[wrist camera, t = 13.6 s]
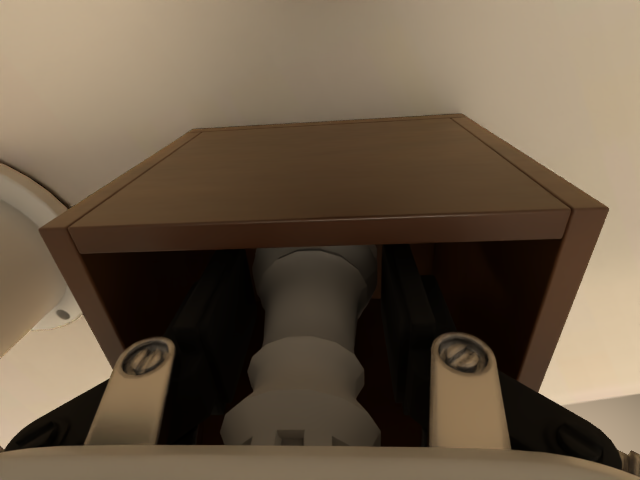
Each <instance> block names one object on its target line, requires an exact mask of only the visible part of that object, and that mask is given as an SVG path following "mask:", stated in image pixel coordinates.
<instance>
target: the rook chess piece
mask: <svg viewBox="0 0 640 480" xmlns="http://www.w3.org/2000/svg"><path fill="white" fill-rule="evenodd" d="M252 272H253V278H254V283H255V287H256V292H257V295H258V296H259V298H260V299H261V304H262V307H263V308H264V310H265V323H264V340H263V345H262V348H261V349H260V350H259V351H258V352H257V353H256V354H255V355H254V356H252V359H251V362H250V365H249V368H248V371H247V373H248V376H249V380H250V384H251V387H252V388H253V393H251V394H250V395H249V396H247V397H246V398H245V399H244V400H242V401H241V402H240V403H239V404H237V405H236V406H235V407H234V408H232V409H231V410H230V411H229V412H228V413H226V414H225V417H224V420H223V424H222V427H221V430H220V434H221V437H222V439H223V442H224V445H259V446H366V447H381V431H380V429H379V428H378V426H377V425H376V423H375V422H374V421H373V419H372V418H371V416H370V415H369V413H368V412H367V411H366V410H365V409H364V408H363V407H362V406H361V405H360V404H359V403H358V402H357V400H356V398H357V396H358V395H359V393H360V391H361V390H362V388H363V386H364V368H363V367H362V365H361V364H360V362H359V361H358V359H357V358H356V356H355V355H354V347H355V338H356V329H357V321H358V319H359V318H360V316H361V314H362V312H363V310H364V309H365V308H366V307H367V305H368V303H369V301H370V299H371V297H372V295H373V293H374V291H375V289H376V286H377V248H376V246H375V245H351V246H319V247H286V248H257V249H256V253H255V259H254V263H253V266H252Z"/></svg>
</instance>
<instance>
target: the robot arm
mask: <svg viewBox="0 0 640 480" xmlns="http://www.w3.org/2000/svg"><path fill="white" fill-rule="evenodd" d="M67 210H68V209H67V208H66V207H65V206H64V205H63V204H62V203H61V202H60V201H59V200H58V199H56V198H55V197H54V196H53V195H52V194H51V193H50V192H49V191H47V190H46V189H44V188H43V187H42V186H40V185H39V184H37V183H36V182H35V181H33V180H32V179H30V178H29V177H27V176H25V175H23V174H21V173H20V172H18V171H16V170H14V169H12V168H10V167H8V166H7V165H4V164H1V163H0V359H1V358H2V357H3V356H4V355H5V354H6V353H7V352H8V351H9V350H10V349H11V348H12V347H13V346H14V345H15V344H16V343H17V342H18V341H19V340H21V339H22V338H23V337H24V336H25V335H26V334H27V333H28V332H29V331H30V330H32V331H39V330H50V329H55V328H58V327H62V326H65V325H67V324H69V323H71V322H73V321H74V320H76V319H77V318H78V317H80V316H81V315H82V314H83V313H82V311H81V309H80V308H79V306H78V304H77V302H76V300H75V298H74V296H73V295H72V293H71V291H70V289H69V287H68V285H67V283H66V282H65V280H64V278H63V276H62V274H61V272H60V270H59V269H58V267H57V265H56V263H55V261H54V259H53V257H52V256H51V254H50V252H49V250H48V248H47V246H46V244H45V243H44V241H43V239H42V237H41V235H40V233H39V231H38V229H39V228H40V227H42V226H43V225H45V224H47V223H48V222H50V221H51V220H53V219H54V218H56V217H57V216H59V215H61V214H62V213H64V212H65V211H67ZM381 317H382V323H383V330H384V336H385V343H386V349H387V356H388V362H389V368H390V375H391V381H392V388H393V394H394V400H395V403H402V407H403V413H404V415H410V417H411V418H412V419H414V420H415V421H416V422H418V423H419V424H420V425H421V433H420V447H366V446H259V445H202V439H203V429H204V422H203V421H204V420H205V419H207V418H208V417H209V416H210V415H223V414H224V410H225V407H226V404H227V403H231V402H232V401H233V398H234V395H235V391H236V388H237V384H238V381H239V377H240V374H241V370H242V367H243V363H244V360H245V356H246V353H247V349H248V346H249V342H250V339H251V335H252V332H253V328H254V325H255V321H256V318H257V305H256V300H255V295H254V290H253V286H252V281H251V276H250V271H249V266H248V261H247V256H246V251H245V249H222V250H216V251H215V253H214V254H213V256H212V258H211V260H210V262H209V263H208V265H207V267H206V269H205V270H204V272H203V274H202V276H201V277H200V279H199V281H197V282H194V284H193V285H192V287H191V288H190V290H189V292H188V293H187V295H186V297H185V299H184V300H183V302H182V304H181V305H180V307H179V309H178V311H177V312H176V314H175V316H174V317H173V319H172V321H171V323H170V324H169V326H168V328H167V330H166V331H165V333H164V335H163V336H154V337H149V338H145V339H142V340H140V341H138V342H136V343H134V344H133V345H131V346H130V347H128V348H127V349H126V350H125V351H124V352H123V353H122V354H121V355H120V356H119V358H118V360H117V362H116V364H115V366H114V369H113V371H112V374H111V376H110V379H108V380H106V381H104V382H103V383H101V384H99V385H97V386H95V387H94V388H92V389H90V390H88V391H87V392H85V393H83V394H81V395H79V396H78V397H76V398H74V399H72V400H71V401H69V402H67V403H65V404H63V405H62V406H60V407H58V408H56V409H55V410H53V411H51V412H49V413H47V414H46V415H44V416H42V417H40V418H39V419H37V420H35V421H34V422H32V423H31V424H29V425H28V426H26V427H25V428H23V429H22V430H21V431H20V432H19V433H18V434H17V435H16V436H14V438H13V439H12V440H11V441H10V443H9V444H8V445H7V446H6V448H5V449H3V448H2V447H1V446H0V480H640V455H639V454H638V453H636V452H634V451H630V453H629V454H628V455H627V454H625V453H623V452H621V451H619V450H617V449H616V447H615V446H614V444H613V443H612V441H611V440H610V439H609V438H608V437H607V436H606V435H605V434H604V433H603V432H602V431H601V430H600V429H598V428H597V427H596V426H594V425H593V424H591V423H590V422H588V421H587V420H585V419H583V418H581V417H580V416H578V415H576V414H574V413H573V412H571V411H569V410H567V409H566V408H564V407H562V406H560V405H559V404H557V403H555V402H553V401H552V400H550V399H548V398H546V397H545V396H543V395H541V394H539V393H538V392H536V391H534V390H532V389H531V388H529V387H527V386H525V385H524V384H522V383H520V382H518V381H517V380H515V379H513V378H511V377H510V376H508V375H506V374H504V373H503V372H501V371H499V370H497V364H496V359H495V356H494V353H493V351H492V350H491V349H490V347H489V346H488V345H487V344H486V343H485V342H483V341H482V340H481V339H479V338H477V337H475V336H473V335H471V334H467V333H463V332H457V329H456V327H455V324H454V322H453V319H452V317H451V314H450V312H449V309H448V307H447V304H446V302H445V299H444V297H443V295H442V292H441V290H440V287H439V285H438V282H437V280H436V278H435V276H434V275H420V274H419V271H418V268H417V266H416V263H415V260H414V257H413V254H412V251H411V248H410V245H409V244H383V245H382V273H381Z"/></svg>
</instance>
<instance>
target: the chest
mask: <svg viewBox="0 0 640 480" xmlns="http://www.w3.org/2000/svg"><path fill="white" fill-rule="evenodd" d="M608 211H609V208H608V207H607V206H605V205H604V204H602V203H601V202H599V201H597V200H596V199H594V198H593V197H591V196H590V195H588V194H587V193H585V192H583V191H582V190H580V189H579V188H577V187H576V186H574V185H573V184H571V183H569V182H568V181H566V180H565V179H563V178H562V177H560V176H558V175H557V174H555V173H554V172H552V171H551V170H549V169H548V168H546V167H544V166H543V165H541V164H540V163H538V162H537V161H535V160H533V159H532V158H530V157H529V156H527V155H526V154H524V153H523V152H521V151H519V150H518V149H516V148H515V147H513V146H512V145H510V144H509V143H507V142H505V141H504V140H502V139H501V138H499V137H498V136H496V135H494V134H493V133H491V132H490V131H488V130H487V129H485V128H484V127H482V126H480V125H479V124H477V123H476V122H474V121H473V120H471V119H469V118H468V117H466V116H465V115H463V114H447V115H430V116H412V117H395V118H378V119H360V120H343V121H325V122H308V123H290V124H273V125H256V126H238V127H221V128H203V129H192V130H191V131H189V132H188V133H186V134H185V135H183V136H182V137H180V138H178V139H177V140H175V141H174V142H172V143H171V144H169V145H168V146H166V147H165V148H163V149H161V150H160V151H158V152H157V153H155V154H154V155H152V156H151V157H149V158H147V159H146V160H144V161H143V162H141V163H140V164H138V165H137V166H135V167H133V168H132V169H130V170H129V171H127V172H126V173H124V174H123V175H121V176H119V177H118V178H116V179H115V180H113V181H112V182H110V183H109V184H107V185H106V186H104V187H102V188H101V189H99V190H98V191H96V192H95V193H93V194H92V195H90V196H88V197H87V198H85V199H84V200H82V201H81V202H79V203H78V204H76V205H74V206H73V207H71V208H70V209H68V210H67V211H65V212H64V213H62V214H61V215H59V216H57V217H56V218H54V219H53V220H51V221H50V222H48V223H47V224H45V225H43V226H42V227H40V228H39V229H38V231H39V233H40V235H41V237H42V239H43V241H44V243H45V244H46V246H47V248H48V250H49V252H50V254H51V256H52V257H53V259H54V261H55V263H56V265H57V267H58V269H59V270H60V272H61V274H62V276H63V278H64V280H65V282H66V283H67V285H68V287H69V289H70V291H71V293H72V295H73V296H74V298H75V300H76V302H77V304H78V306H79V308H80V309H81V311H82V313H83V315H84V317H85V319H86V321H87V322H88V324H89V326H90V328H91V330H92V332H93V334H94V335H95V337H96V339H97V341H98V343H99V345H100V347H101V348H102V350H103V352H104V354H105V356H106V358H107V360H108V361H109V363H110V365H111V367H112V369H114V366H115V364H116V362H117V360H118V358H119V356H120V355H121V354H122V353H123V352H124V351H125V350H126V349H127V348H128V347H130V346H131V345H133V344H134V343H136V342H138V341H140V340H142V339H145V338H149V337H154V336H163V335H164V333H165V331H166V330H167V328H168V326H169V324H170V323H171V321H172V319H173V317H174V316H175V314H176V312H177V311H178V309H179V307H180V305H181V304H182V302H183V300H184V299H185V297H186V295H187V293H188V292H189V290H190V288H191V287H192V285H193V284H194V282H197V281H199V279H200V277H201V276H202V274H203V272H204V270H205V269H206V267H207V265H208V263H209V262H210V260H211V258H212V256H213V254H214V253H215V251H216V250H222V249H245V251H246V256H247V261H248V266H249V271H250V276H251V281H252V286H253V290H254V295H255V300H256V305H257V318H256V321H255V325H254V328H253V332H252V335H251V339H250V342H249V346H248V349H247V353H246V356H245V360H244V363H243V367H242V370H241V374H240V377H239V381H238V384H237V388H236V391H235V395H234V398H233V401H232V402H231V403H227V404H226V407H225V410H224V414H223V415H210V416H209V417H208V418H207V419H205V420H204V421H203V422H204V429H203V439H202V445H224V442H223V439H222V437H221V434H220V430H221V427H222V424H223V420H224V417H225V414H226V413H228V412H229V411H230V410H231V409H232V408H234V407H235V406H236V405H237V404H239V403H240V402H241V401H242V400H244V399H245V398H246V397H247V396H249V395H250V394H251V393H253V388H252V387H251V384H250V380H249V376H248V373H247V371H248V368H249V365H250V362H251V359H252V356H254V355H255V354H256V353H257V352H258V351H259V350H260V349H261V348H262V345H263V340H264V323H265V310H264V308H263V307H262V304H261V299H260V298H259V296H258V295H257V292H256V287H255V283H254V278H253V272H252V266H253V263H254V259H255V253H256V249H257V248H286V247H319V246H351V245H375V246H376V248H377V286H376V289H375V291H374V293H373V295H372V297H371V299H370V301H369V303H368V305H367V307H366V308H365V309H364V310H363V312H362V314H361V316H360V318H359V319H358V321H357V329H356V338H355V347H354V355H355V356H356V358H357V359H358V361H359V362H360V364H361V365H362V367H363V368H364V386H363V388H362V390H361V391H360V393H359V395H358V396H357V398H356V400H357V402H358V403H359V404H360V405H361V406H362V407H363V408H364V409H365V410H366V411H367V412H368V413H369V415H370V416H371V418H372V419H373V421H374V422H375V423H376V425H377V426H378V428H379V429H380V431H381V447H420V433H421V425H420V424H419V423H418V422H416V421H415V420H414V419H412V418H411V417H410V415H404V413H403V407H402V403H395V400H394V394H393V388H392V381H391V375H390V368H389V362H388V356H387V349H386V343H385V336H384V330H383V323H382V317H381V273H382V245H383V244H409V245H410V248H411V251H412V254H413V257H414V260H415V263H416V266H417V268H418V271H419V274H420V275H434V276H435V278H436V280H437V282H438V285H439V287H440V290H441V292H442V295H443V297H444V299H445V302H446V304H447V307H448V309H449V312H450V314H451V317H452V319H453V322H454V324H455V327H456V329H457V332H463V333H467V334H471V335H473V336H475V337H477V338H479V339H481V340H482V341H483V342H485V343H486V344H487V345H488V346H489V347H490V349H491V350H492V351H493V353H494V356H495V359H496V364H497V370H499V371H501V372H503V373H504V374H506V375H508V376H510V377H511V378H513V379H515V380H517V381H518V382H520V383H522V384H524V385H525V386H527V387H529V388H531V389H532V390H534V391H536V392H539V389H540V386H541V384H542V381H543V379H544V376H545V373H546V371H547V368H548V366H549V363H550V361H551V358H552V355H553V353H554V350H555V348H556V345H557V343H558V340H559V337H560V335H561V332H562V330H563V327H564V325H565V322H566V319H567V317H568V314H569V312H570V309H571V307H572V304H573V301H574V299H575V296H576V294H577V291H578V289H579V286H580V283H581V281H582V278H583V276H584V273H585V270H586V268H587V265H588V263H589V260H590V258H591V255H592V252H593V250H594V247H595V245H596V242H597V240H598V237H599V234H600V232H601V229H602V227H603V224H604V222H605V219H606V216H607V214H608Z"/></svg>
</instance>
